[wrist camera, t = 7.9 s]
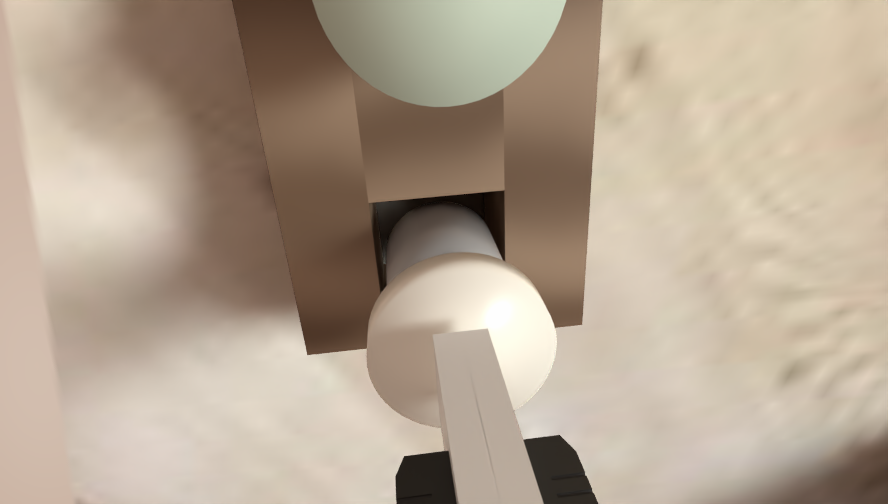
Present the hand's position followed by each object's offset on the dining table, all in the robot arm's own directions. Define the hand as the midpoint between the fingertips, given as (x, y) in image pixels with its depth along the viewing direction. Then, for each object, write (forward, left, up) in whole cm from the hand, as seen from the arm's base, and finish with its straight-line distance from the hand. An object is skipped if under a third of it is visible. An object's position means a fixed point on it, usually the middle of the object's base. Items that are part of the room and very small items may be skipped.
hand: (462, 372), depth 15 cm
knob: (0, 0, -8) cm, 8 cm away
